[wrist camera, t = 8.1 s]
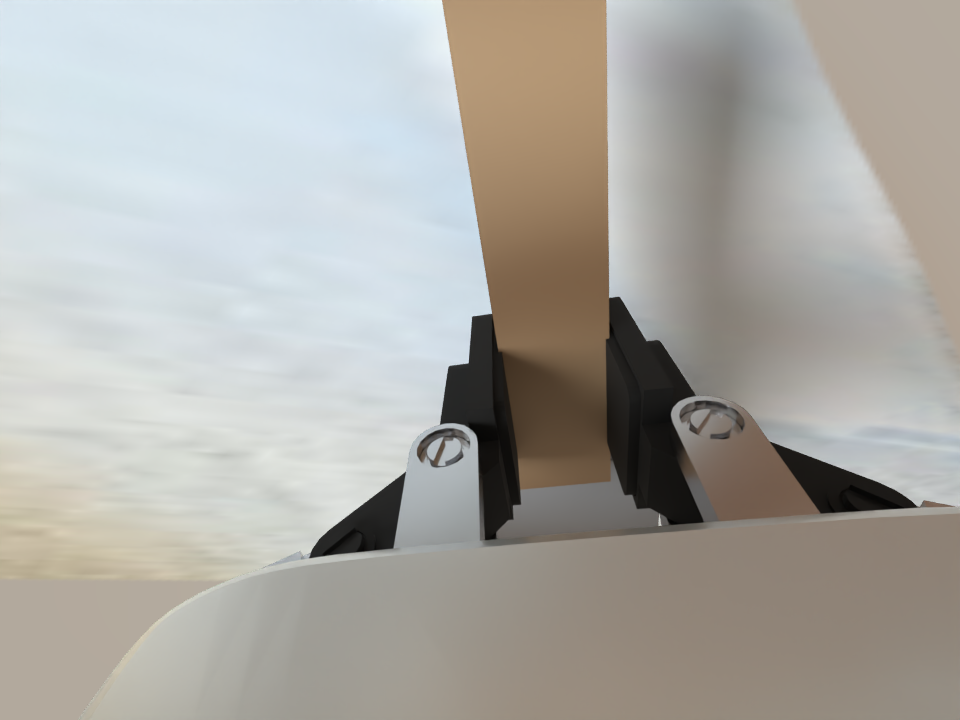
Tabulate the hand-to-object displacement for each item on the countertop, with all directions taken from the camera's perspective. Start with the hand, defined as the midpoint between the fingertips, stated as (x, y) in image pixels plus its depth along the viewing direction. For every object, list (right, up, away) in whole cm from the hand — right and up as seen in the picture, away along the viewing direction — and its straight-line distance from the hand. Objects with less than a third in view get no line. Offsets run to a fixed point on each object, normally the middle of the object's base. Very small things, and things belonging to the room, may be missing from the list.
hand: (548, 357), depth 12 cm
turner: (0, 0, +1) cm, 1 cm away
